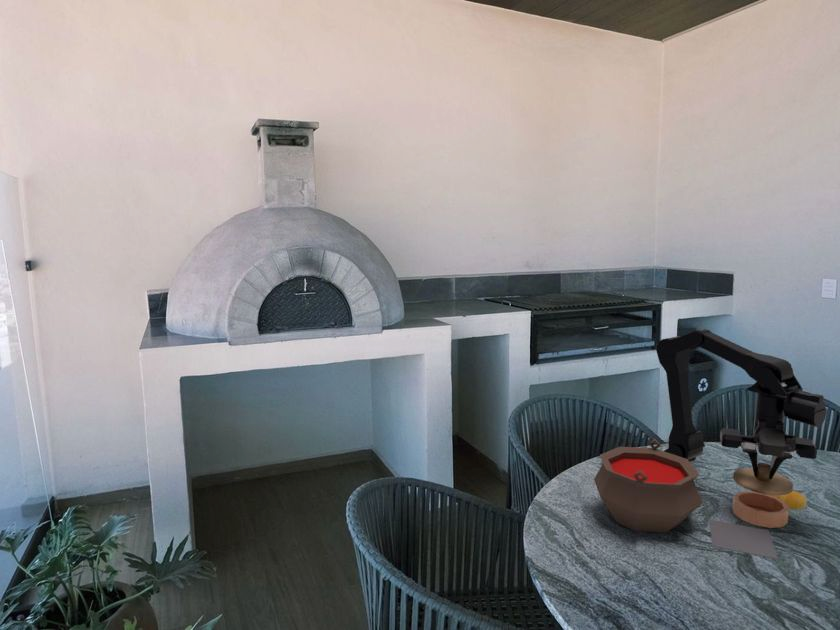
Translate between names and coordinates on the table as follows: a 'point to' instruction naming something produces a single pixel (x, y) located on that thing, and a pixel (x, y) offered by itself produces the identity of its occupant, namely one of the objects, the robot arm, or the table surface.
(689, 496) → the brown soup pot
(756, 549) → the mat
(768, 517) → the bowl
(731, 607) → the table surface
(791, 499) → the bread roll
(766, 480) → the lid
